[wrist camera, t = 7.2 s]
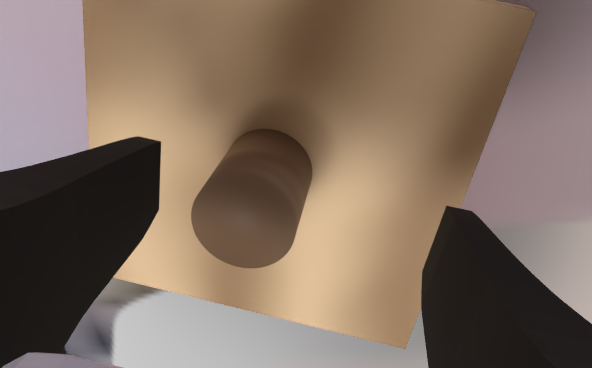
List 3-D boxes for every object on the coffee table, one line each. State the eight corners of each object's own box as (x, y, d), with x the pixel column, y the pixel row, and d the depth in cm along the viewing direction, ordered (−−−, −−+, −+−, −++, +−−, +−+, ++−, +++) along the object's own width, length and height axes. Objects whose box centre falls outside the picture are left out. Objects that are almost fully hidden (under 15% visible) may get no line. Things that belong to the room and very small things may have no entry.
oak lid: (527, 6, 14) (581, 38, 10) (404, 330, 20) (408, 427, 17) (97, -80, 15) (-7, -79, 11) (106, 258, 21) (42, 334, 17)
